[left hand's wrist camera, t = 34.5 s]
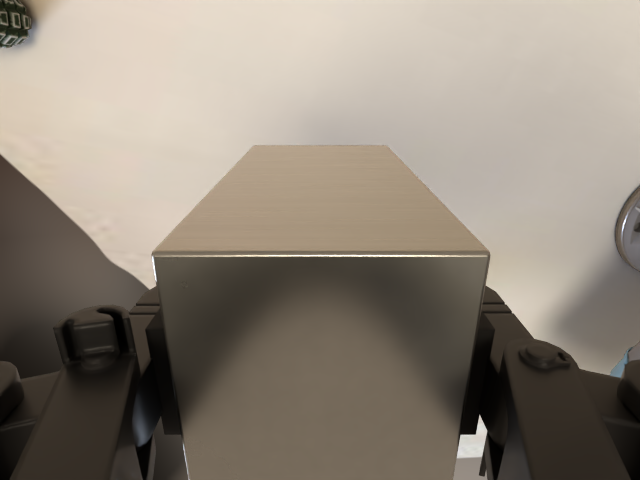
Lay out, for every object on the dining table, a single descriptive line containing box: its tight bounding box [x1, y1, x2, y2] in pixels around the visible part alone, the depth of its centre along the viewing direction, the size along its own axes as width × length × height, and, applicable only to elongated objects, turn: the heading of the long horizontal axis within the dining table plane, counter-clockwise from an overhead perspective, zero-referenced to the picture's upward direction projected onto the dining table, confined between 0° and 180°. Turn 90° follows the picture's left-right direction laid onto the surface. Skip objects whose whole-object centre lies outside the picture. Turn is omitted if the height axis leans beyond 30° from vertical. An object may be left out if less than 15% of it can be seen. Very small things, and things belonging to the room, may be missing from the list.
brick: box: [152, 145, 490, 480], centre depth 12 cm, size 7×5×11 cm
